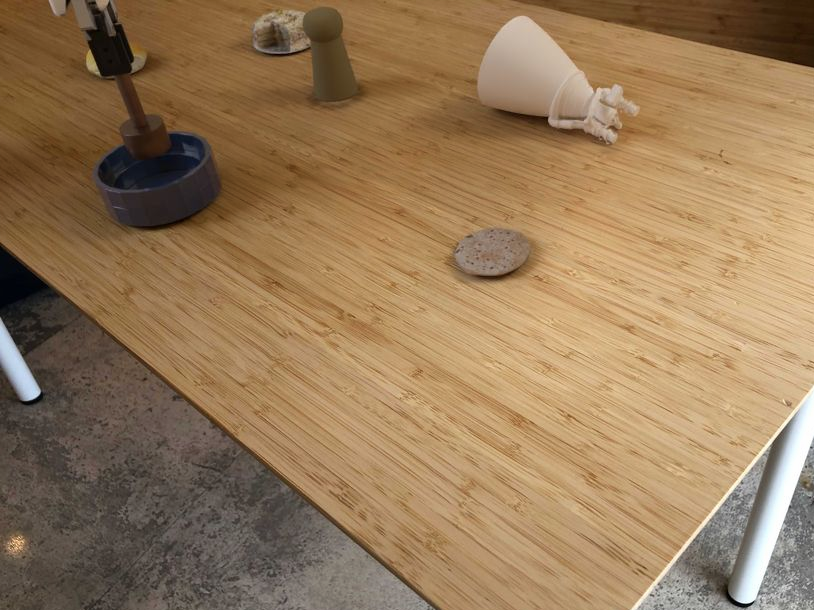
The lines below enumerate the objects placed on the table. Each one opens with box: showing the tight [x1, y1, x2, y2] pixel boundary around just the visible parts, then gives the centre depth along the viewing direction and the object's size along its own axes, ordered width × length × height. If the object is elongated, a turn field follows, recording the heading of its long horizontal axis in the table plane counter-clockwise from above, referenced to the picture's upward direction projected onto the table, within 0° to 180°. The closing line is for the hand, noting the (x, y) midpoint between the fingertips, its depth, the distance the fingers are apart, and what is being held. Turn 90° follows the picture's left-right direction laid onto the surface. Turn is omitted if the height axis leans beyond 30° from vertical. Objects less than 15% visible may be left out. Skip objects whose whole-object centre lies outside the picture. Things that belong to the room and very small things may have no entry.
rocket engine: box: [476, 15, 641, 145], centre depth 102 cm, size 12×12×18 cm
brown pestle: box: [93, 14, 172, 160], centre depth 90 cm, size 5×5×15 cm
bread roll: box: [85, 40, 148, 80], centre depth 126 cm, size 8×9×4 cm
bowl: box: [91, 130, 222, 227], centre depth 98 cm, size 13×13×5 cm
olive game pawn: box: [303, 6, 359, 102], centre depth 112 cm, size 6×6×11 cm
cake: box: [251, 8, 311, 55], centre depth 128 cm, size 10×10×5 cm
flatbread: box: [454, 226, 532, 277], centre depth 86 cm, size 8×8×1 cm
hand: (118, 68), depth 89 cm, fingers closed on brown pestle
